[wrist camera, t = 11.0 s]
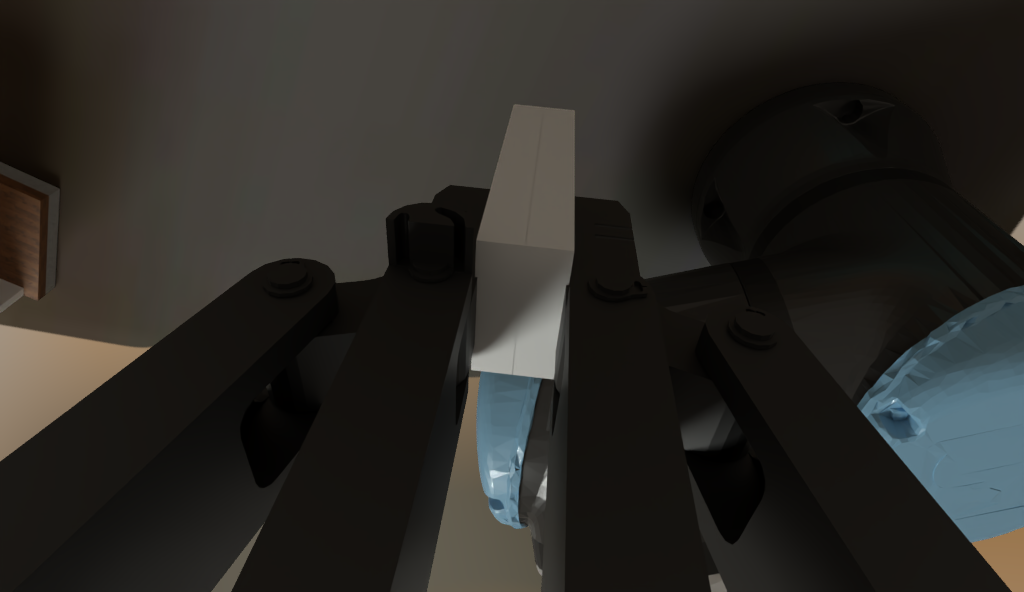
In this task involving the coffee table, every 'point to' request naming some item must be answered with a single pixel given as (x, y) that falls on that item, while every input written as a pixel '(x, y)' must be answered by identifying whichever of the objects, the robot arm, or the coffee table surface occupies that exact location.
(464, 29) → the coffee table surface
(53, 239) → the white open shelf
